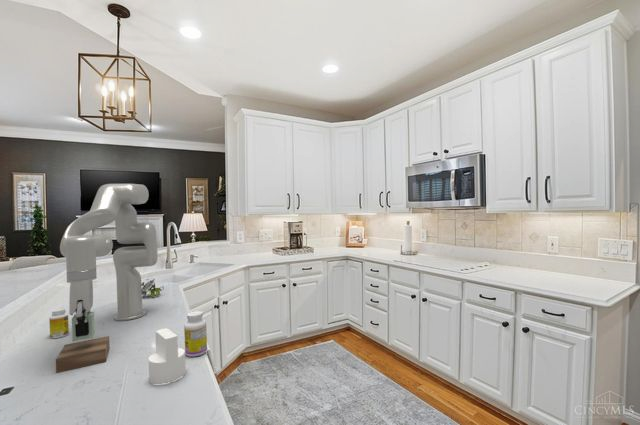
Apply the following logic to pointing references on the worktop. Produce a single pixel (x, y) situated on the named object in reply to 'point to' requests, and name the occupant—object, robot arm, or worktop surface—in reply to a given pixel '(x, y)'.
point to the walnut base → (83, 354)
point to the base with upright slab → (166, 358)
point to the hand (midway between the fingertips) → (83, 332)
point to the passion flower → (149, 286)
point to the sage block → (91, 327)
